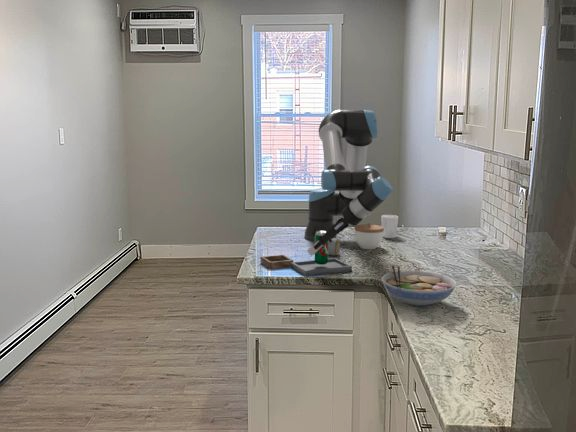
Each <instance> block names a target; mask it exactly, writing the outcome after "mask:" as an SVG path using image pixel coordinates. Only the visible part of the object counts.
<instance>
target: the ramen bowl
mask: <svg viewBox="0 0 576 432" xmlns="http://www.w3.org/2000/svg"><path fill="white" fill-rule="evenodd" d="M400 267H401V266H399V265H397V271H396V269H395V266H394V265H392V266H391V269H392V271H391V272H387V273H385V274H384V275H383V276H381V280H382V283H383V285H384V286H385V287H386V289H387V290H388V292H389V293H390V295H391V296H392V297H394V298H395V299H397V300H399V301H401V302H404V303H405V304H407V305H409V306H413V307H427V306H429V305H433V304H438V303H440V302H442V301H443V300H446V299H447V298H448V297H449V296H450V295H451V294H452V292H453V291H454V290H455V288H456V286H457V283H458V282H457V281H456V280H455V279H454V278H452V277H451V276H447V275H445V274H442V273H438V272H432V271H423V270H400Z"/></svg>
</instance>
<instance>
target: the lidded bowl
mask: <svg viewBox="0 0 576 432" xmlns="http://www.w3.org/2000/svg"><path fill="white" fill-rule="evenodd" d="M383 231H384V228H383V227H382V226H381V225H378V224H371V222H367V224H365V223H364V224H357V225H356V226H354V238H355V242H356V244H357V245H358V246H359V248H361V249H363V250H374V249H377V248H378V246H380V245H381V243H382V241H383V238H384V237H383Z"/></svg>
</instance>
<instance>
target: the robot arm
mask: <svg viewBox="0 0 576 432" xmlns="http://www.w3.org/2000/svg"><path fill="white" fill-rule="evenodd" d="M377 121H378V120H377V116H376V112H375V111H374V110H369V109H367V110H366V109H336V110H333V111H330V113H329V112H328V114H327V115H326V116H324V117H323V119H322V120H321V122H320V124H319V125H318V126H319V127H318V137H319V139H320V140H321V143H322V150H323V159H324V168H325V169H324V170H322V171H321V174H320V175H321V177H320V183H321V184H320V185H321V188H319V187H318V188H314V189H312V190H311V191H309V195H308V221H307V224H306V228H305V230H304V239H307V240H309V241H315V234H316V231H327V232H326V233H325V234H324V235H323V236H322V237H321V238H317V239H318V241H317V242H316V243H315V242H314V243H313V244H312V245H311V246H310V247H309V248H308V249H307V250H306V252H307V253H308V254H309V256H311V257H313V256H315V253H316V252H317V251H318V250H319V249H320V248H321V247H322V246H324V244H325V243H326V242H327V241H328V240H329V241H330V243H331V242H332V240H331V239H333V238H336V239H338V237H337V236H338V234H340V233H341V232H343V231H344V230H345V229H347V228H348V227H349V226H353V227H355V226H357V225H359V223H361V222H362V221H363V219H365V218H366V217H367V216H368V217H370V216H371V212H373V211H375V209H377V208H378V207H379V206H380V205H381V204H383V202H384V201H386V200H387V199H388V197H389V196H390V195H392V193H393V192H394V189H393V186H392V184H391V183H390V182H389V181H388V180H387V179H386V178H384V177H383V176H382V175H381V173H380V171H379V170H378V169H377V168H376V167H375V166H372V165H367V166H366V163H367V153H368V148H369V146H370V145H371V144H372V143H373V139H376V138H378V123H377ZM342 139H344V140H345V142H346V143H347V149H346V150H347V151H346V159H345V158H344V150H343V144H342ZM345 160H346V161H345ZM334 217H340V218H338V220H337V221H336V222H335V223H334ZM329 241H328V242H329Z"/></svg>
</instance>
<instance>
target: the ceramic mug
mask: <svg viewBox="0 0 576 432" xmlns="http://www.w3.org/2000/svg"><path fill="white" fill-rule="evenodd" d="M331 240H332V242H331V243H330V241H329V240H328V241H329V242H328V256H332V257H333V256H335V257H336V256H337V255H339V253H340V246H341V243H340V240H339V239H338V238H333V239H331Z"/></svg>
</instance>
